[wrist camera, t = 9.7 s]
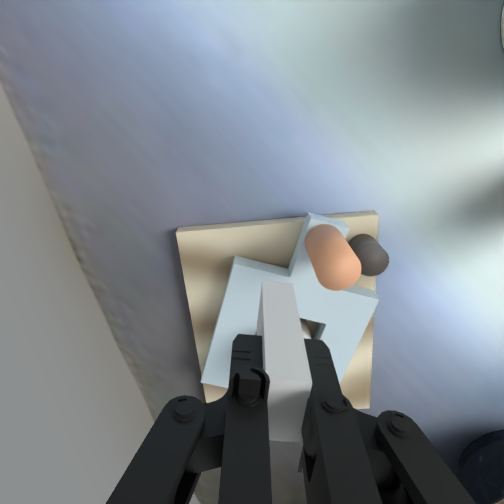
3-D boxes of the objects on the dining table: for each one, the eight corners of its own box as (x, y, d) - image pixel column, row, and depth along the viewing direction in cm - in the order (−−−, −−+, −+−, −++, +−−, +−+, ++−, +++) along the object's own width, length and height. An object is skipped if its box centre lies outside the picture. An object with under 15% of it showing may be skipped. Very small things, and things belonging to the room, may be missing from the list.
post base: (178, 227, 30) (158, 262, 23) (374, 210, 29) (408, 241, 23) (210, 409, 38) (202, 474, 31) (365, 398, 37) (390, 461, 31)
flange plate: (324, 395, 35) (340, 458, 29) (202, 370, 34) (192, 429, 28) (397, 236, 29) (437, 272, 23) (251, 196, 27) (251, 224, 21)
